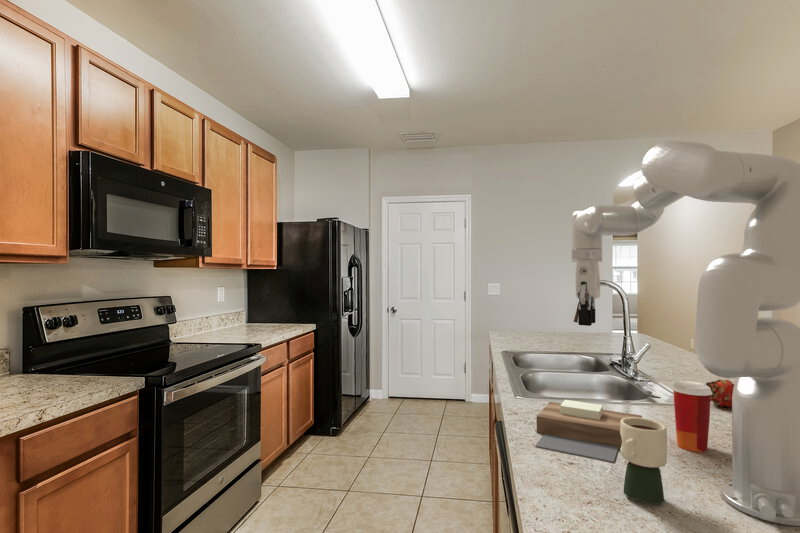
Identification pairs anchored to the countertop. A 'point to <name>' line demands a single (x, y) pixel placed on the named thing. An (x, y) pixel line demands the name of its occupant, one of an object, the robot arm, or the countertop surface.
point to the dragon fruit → (721, 392)
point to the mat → (578, 447)
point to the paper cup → (692, 415)
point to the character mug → (644, 458)
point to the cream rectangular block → (581, 409)
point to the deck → (582, 425)
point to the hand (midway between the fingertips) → (587, 323)
